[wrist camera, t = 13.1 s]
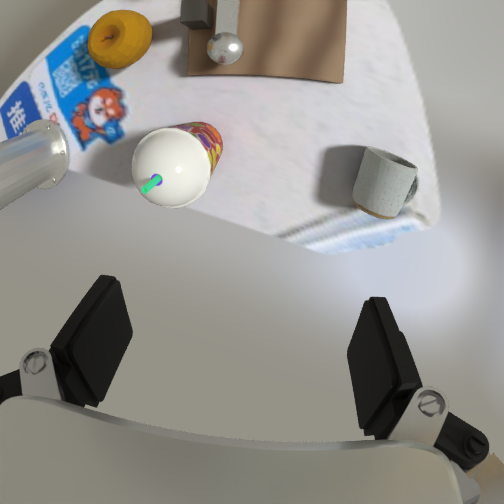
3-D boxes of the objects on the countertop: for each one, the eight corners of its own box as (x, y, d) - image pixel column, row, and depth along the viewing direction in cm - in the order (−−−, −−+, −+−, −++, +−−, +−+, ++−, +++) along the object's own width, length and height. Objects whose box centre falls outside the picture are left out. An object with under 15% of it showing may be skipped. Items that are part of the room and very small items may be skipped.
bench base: (190, 75, 35) (174, 73, 29) (196, -25, 27) (182, -42, 21) (340, 83, 34) (353, 82, 28) (344, -18, 26) (356, -35, 20)
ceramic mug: (343, 194, 42) (357, 216, 36) (359, 142, 38) (377, 154, 32) (404, 211, 43) (424, 233, 36) (421, 163, 39) (446, 178, 32)
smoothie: (172, 171, 42) (107, 233, 25) (172, 115, 38) (96, 141, 21) (228, 173, 42) (195, 240, 25) (231, 116, 38) (194, 138, 21)
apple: (101, 39, 32) (67, 34, 24) (146, 5, 29) (119, -9, 22) (124, 80, 35) (92, 81, 28) (172, 47, 33) (148, 38, 25)
